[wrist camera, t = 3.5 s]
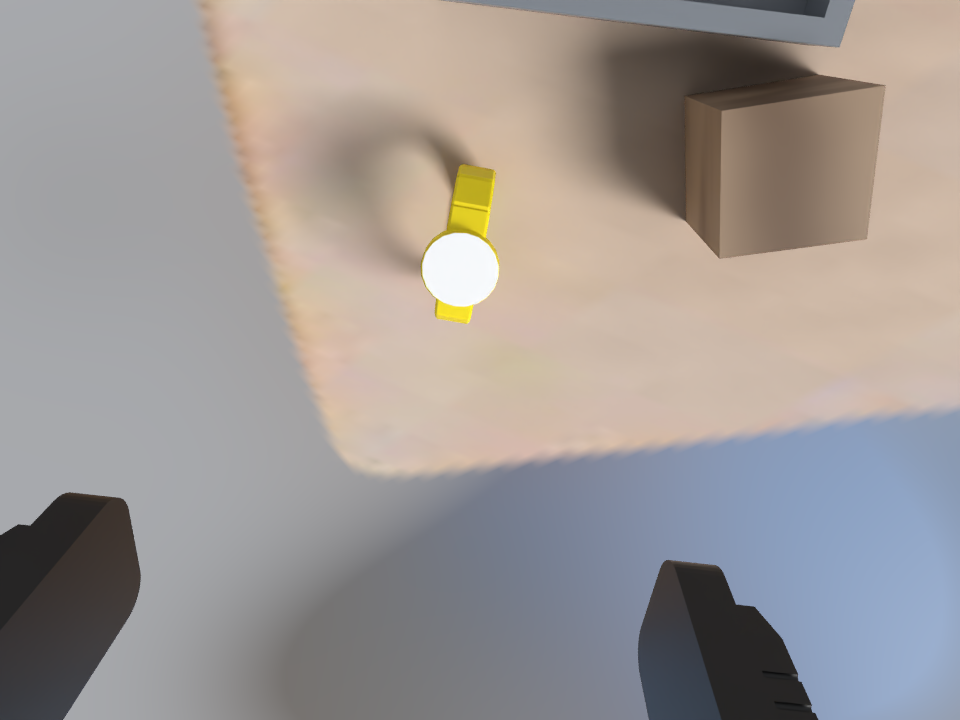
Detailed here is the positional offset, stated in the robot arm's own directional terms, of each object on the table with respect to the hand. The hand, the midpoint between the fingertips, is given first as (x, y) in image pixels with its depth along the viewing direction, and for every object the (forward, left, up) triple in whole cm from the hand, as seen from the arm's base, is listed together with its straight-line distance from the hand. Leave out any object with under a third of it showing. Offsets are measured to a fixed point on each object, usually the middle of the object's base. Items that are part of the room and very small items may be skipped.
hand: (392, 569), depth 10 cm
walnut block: (-11, -4, -20) cm, 23 cm away
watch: (0, 0, -20) cm, 20 cm away
